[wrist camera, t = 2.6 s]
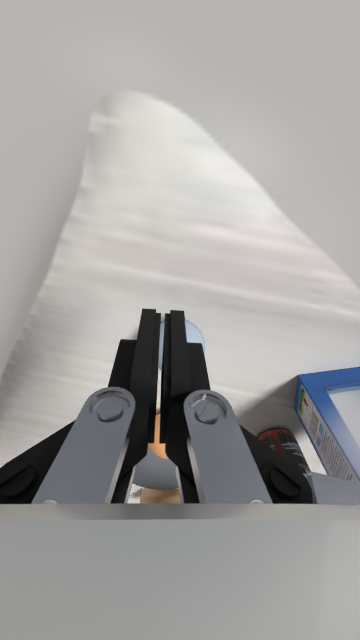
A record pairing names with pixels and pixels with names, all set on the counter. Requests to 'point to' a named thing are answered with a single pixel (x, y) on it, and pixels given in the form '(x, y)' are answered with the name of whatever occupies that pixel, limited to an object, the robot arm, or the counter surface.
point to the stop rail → (160, 496)
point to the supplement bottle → (285, 447)
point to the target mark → (155, 473)
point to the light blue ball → (191, 334)
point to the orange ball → (157, 441)
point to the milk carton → (332, 419)
